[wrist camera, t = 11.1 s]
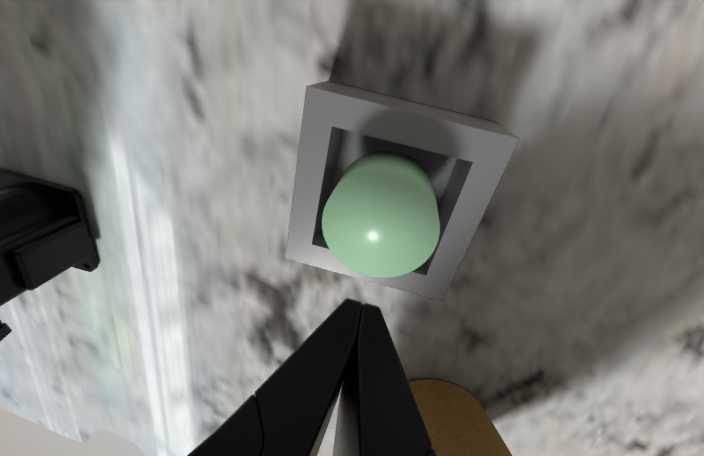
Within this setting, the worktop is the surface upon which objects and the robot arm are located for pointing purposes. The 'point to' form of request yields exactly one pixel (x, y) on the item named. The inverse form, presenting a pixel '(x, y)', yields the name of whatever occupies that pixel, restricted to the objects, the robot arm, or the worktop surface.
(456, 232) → the button housing
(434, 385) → the plant pot
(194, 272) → the worktop surface
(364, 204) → the button
